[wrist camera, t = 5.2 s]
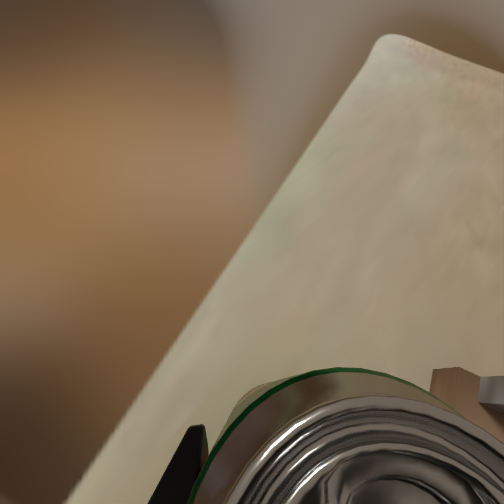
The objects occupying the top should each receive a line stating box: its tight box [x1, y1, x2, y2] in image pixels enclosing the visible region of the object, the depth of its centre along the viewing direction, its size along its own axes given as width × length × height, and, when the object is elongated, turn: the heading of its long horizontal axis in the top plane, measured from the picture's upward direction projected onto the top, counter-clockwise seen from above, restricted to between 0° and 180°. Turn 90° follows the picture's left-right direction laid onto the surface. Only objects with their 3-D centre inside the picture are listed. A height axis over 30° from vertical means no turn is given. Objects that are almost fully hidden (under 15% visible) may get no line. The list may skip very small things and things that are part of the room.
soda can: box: [187, 367, 504, 504], centre depth 8 cm, size 5×5×12 cm
